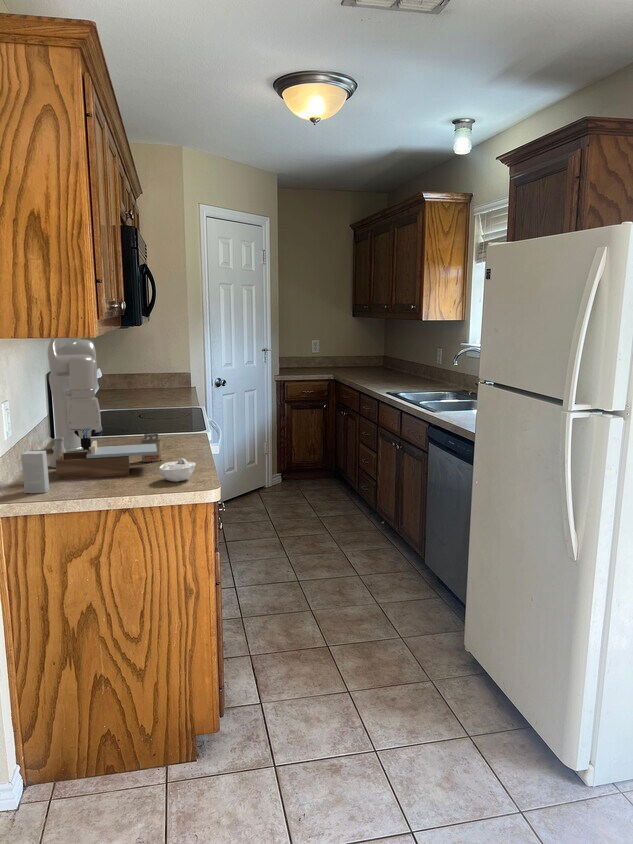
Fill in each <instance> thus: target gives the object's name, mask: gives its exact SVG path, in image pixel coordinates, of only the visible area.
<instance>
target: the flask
mask: <svg viewBox="0 0 633 844" xmlns="http://www.w3.org/2000/svg"><path fill="white" fill-rule="evenodd" d="M63 440H64V438H63V437H57V438H56V437H54V438H53V441H54V446H55V448H54V451H52V452H53V453H52V456H51V459H50V462H49V467H50V468H53V469H56V460H57V458H58V456H59V455H60V453H63V452H66V451H65V448H64V444H63Z"/></svg>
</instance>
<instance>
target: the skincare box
mask: <svg viewBox="0 0 633 844" xmlns="http://www.w3.org/2000/svg"><path fill="white" fill-rule="evenodd" d="M20 459H21V467H22V479H23V489H24V490H23V491H24V492H23V493H24V494H25V493H30V494H44V493H47V492H48V491H49V490H50V481H49V470H48V458H47V450H30V451H27V450H26V451H24V452H23V453H21V454H20Z"/></svg>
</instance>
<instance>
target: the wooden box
mask: <svg viewBox="0 0 633 844" xmlns="http://www.w3.org/2000/svg"><path fill="white" fill-rule="evenodd" d="M87 452H88V450H84V451H83V450H80V451H72V452H63V453H60V455H59V456H58V458H57V460H56V468H55V469H56V480H66V479H65V478H71V479H81V478H84V477H86V478H98V477H101V478H102V477H113V476H115V475H117V476H126V475H125V474H129V475H130V466H129V465H130V456H119V457H101V458H87V457H86V455H87Z"/></svg>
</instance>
